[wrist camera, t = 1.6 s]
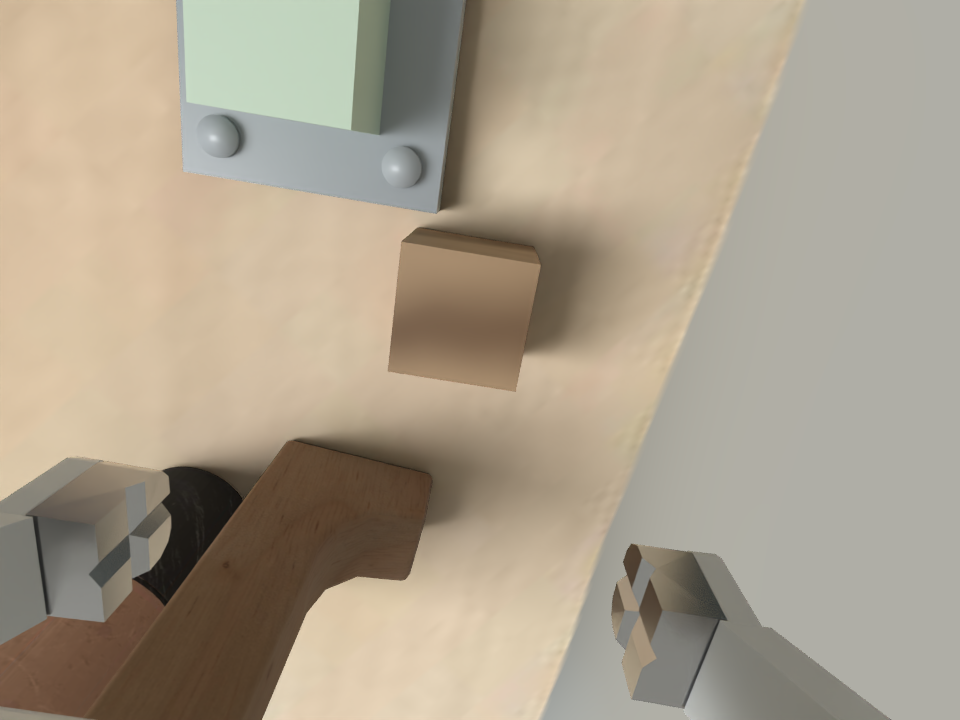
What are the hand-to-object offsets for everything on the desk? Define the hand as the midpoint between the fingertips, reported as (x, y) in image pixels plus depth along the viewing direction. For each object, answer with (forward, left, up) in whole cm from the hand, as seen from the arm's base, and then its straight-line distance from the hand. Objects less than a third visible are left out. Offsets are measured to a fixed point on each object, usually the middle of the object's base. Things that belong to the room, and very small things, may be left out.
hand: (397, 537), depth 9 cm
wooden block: (+13, -5, -20) cm, 25 cm away
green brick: (-10, -8, -18) cm, 22 cm away
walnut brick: (0, 0, -20) cm, 20 cm away
